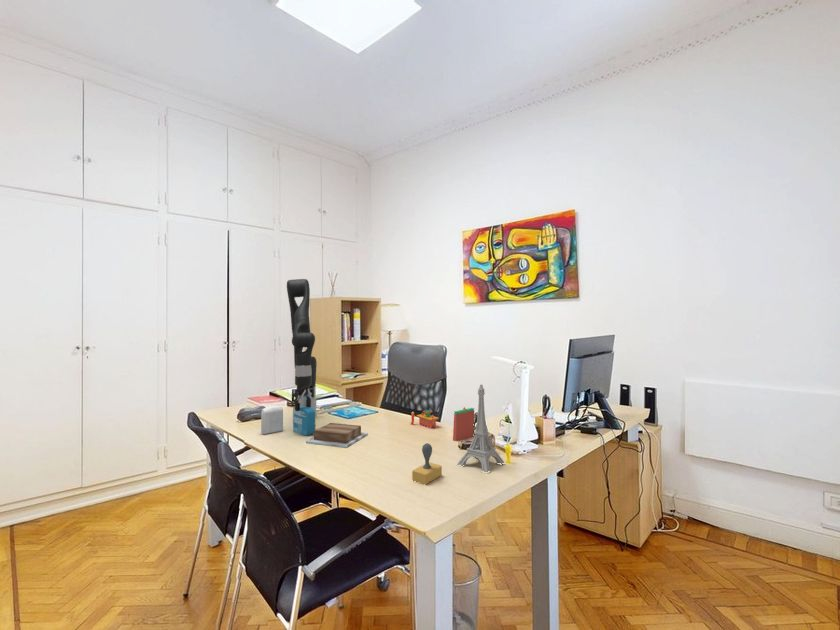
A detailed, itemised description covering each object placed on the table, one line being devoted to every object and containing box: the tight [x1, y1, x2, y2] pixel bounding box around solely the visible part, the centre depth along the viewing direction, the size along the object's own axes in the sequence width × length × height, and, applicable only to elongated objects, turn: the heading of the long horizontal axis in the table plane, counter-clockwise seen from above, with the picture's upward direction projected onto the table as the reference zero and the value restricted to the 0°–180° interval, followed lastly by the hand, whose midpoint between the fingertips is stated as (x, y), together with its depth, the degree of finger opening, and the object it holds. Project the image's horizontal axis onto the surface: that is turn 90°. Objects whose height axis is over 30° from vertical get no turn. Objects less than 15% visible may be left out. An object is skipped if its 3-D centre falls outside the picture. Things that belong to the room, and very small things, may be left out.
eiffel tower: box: [456, 384, 505, 472], centre depth 156 cm, size 13×13×30 cm
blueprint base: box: [305, 422, 369, 449], centre depth 187 cm, size 20×20×5 cm
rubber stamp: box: [411, 442, 443, 485], centre depth 143 cm, size 10×6×12 cm, turn 144°
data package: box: [292, 406, 316, 436], centre depth 197 cm, size 12×4×12 cm, turn 49°
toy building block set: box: [410, 406, 475, 442], centre depth 201 cm, size 12×35×14 cm, turn 39°
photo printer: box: [260, 405, 284, 435], centre depth 198 cm, size 10×4×12 cm, turn 134°
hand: (303, 409), depth 196 cm, fingers open, 8 cm apart
